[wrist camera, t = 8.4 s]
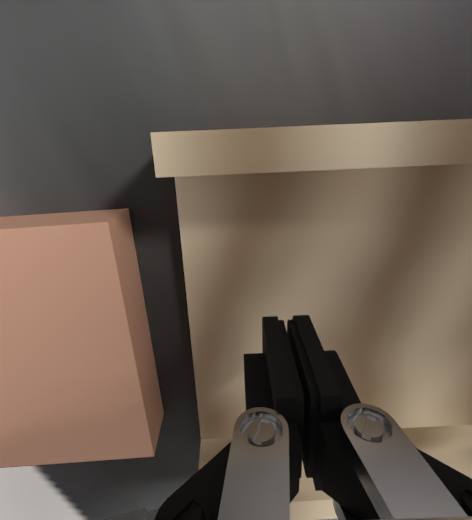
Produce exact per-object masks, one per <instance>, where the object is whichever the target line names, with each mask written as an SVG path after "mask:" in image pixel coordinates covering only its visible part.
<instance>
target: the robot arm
mask: <svg viewBox="0 0 472 520" xmlns="http://www.w3.org/2000/svg"><path fill="white" fill-rule="evenodd" d="M244 380H245V403H246V411H245V412H243V413H241V415H240V416H239V417H238V418H237V419H236V422H235V425H234V429H233V435H232V441H231V442H230V443H229V444H228V445H227V446H225V447H224V448H223V449H222V450H221V451H220V452H219V453H218V454H217V455H215V456H214V457H213V458H212V459H211V460H210V461H209V462H208V463H207V464H205V465H204V466H203V467H202V468H201V469H200V470H199V471H198V472H197V473H195V474H194V475H193V476H192V477H191V478H190V479H189V480H188V481H186V482H185V483H184V484H183V485H182V486H181V487H180V488H179V489H178V490H176V491H175V492H174V493H173V494H172V495H171V496H170V497H169V498H168V499H167V500H166V501H165V502H164V503H163V504H162V505H161V507H160V508H159V509H158V510H155V511H151V512H148V513H146V508H144V509H140V510H137V511H133V512H130V513H126V514H123V515H119V516H116V517H112V518H108V519H105V520H290V503H291V501H292V500H293V499H294V498H295V496H296V495H297V494H298V492H299V481H300V478H301V474H302V461H303V466H304V471H305V475H306V478H313V482H314V487H315V491H323V492H324V493H326V494H327V495H328V496H330V497H331V498H332V499H333V506H334V510H335V513H336V515H337V518H338V520H472V479H471V478H470V477H468V476H466V475H464V474H462V473H461V472H459V471H457V470H455V469H453V468H452V467H450V466H448V465H446V464H444V463H443V462H441V461H439V460H437V459H435V458H434V457H432V456H430V455H428V454H427V453H425V452H423V451H421V450H419V449H418V448H416V447H415V446H414V445H413V443H412V442H411V441H410V439H409V438H408V437H407V435H406V434H405V433H404V432H403V430H402V429H401V428H400V426H399V425H398V424H397V422H396V421H395V420H394V419H393V418H392V417H391V416H390V415H389V414H388V413H387V412H385V411H384V410H382V409H381V408H378V407H376V406H373V405H370V404H364V403H361V402H360V399H359V397H358V395H357V393H356V391H355V389H354V387H353V385H352V383H351V381H350V379H349V377H348V374H347V372H346V370H345V368H344V366H343V364H342V362H341V360H340V358H339V356H338V354H337V352H336V351H335V350H329V351H324V349H323V347H322V345H321V342H320V340H319V337H318V335H317V333H316V330H315V328H314V326H313V323H312V321H311V319H310V316H309V315H293V319H292V320H288V321H287V331H286V327H285V323H284V320H278V317H277V316H268V317H262V353H251V354H244Z"/></svg>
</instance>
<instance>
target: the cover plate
mask: <svg viewBox="0 0 472 520" xmlns="http://www.w3.org/2000/svg"><path fill="white" fill-rule="evenodd" d="M163 415H164V411H163V405H162V399H161V393H160V387H159V382H158V376H157V370H156V364H155V359H154V353H153V347H152V341H151V336H150V330H149V324H148V318H147V312H146V307H145V301H144V295H143V289H142V284H141V278H140V272H139V266H138V260H137V255H136V249H135V243H134V237H133V232H132V226H131V220H130V214H129V209H128V208H126V209H111V210H96V211H81V212H66V213H51V214H37V215H22V216H7V217H0V468H3V467H18V466H32V465H46V464H60V463H73V462H87V461H101V460H114V459H128V458H142V457H154V454H155V450H156V446H157V441H158V437H159V433H160V428H161V424H162V420H163Z"/></svg>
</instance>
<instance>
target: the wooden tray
mask: <svg viewBox="0 0 472 520" xmlns="http://www.w3.org/2000/svg"><path fill="white" fill-rule="evenodd" d="M150 133H151V142H152V150H153V158H154V167H155V175H156V178H160V177H175V187H176V197H177V207H178V216H179V226H180V236H181V246H182V256H183V266H184V276H185V286H186V296H187V306H188V316H189V326H190V336H191V346H192V355H193V365H194V375H195V385H196V395H197V405H198V415H199V425H200V435H201V445H200V456H199V468H198V471H199V470H200V469H201V468H202V467H203V466H204V465H205V464H207V463H208V462H209V461H210V460H211V459H212V458H213V457H214V456H215V455H217V454H218V453H219V452H220V451H221V450H222V449H223V448H224V447H225V446H227V445H228V444H229V443H230V442H231V441H232V435H233V429H234V425H235V422H236V419H237V418H238V417H239V416H240V415H241V413H243V412H245V411H246V403H245V380H244V354H251V353H262V317H268V316H277V317H278V320H284V323H285V327H286V331H287V321H288V320H292V319H293V315H309V316H310V319H311V321H312V323H313V326H314V328H315V330H316V333H317V335H318V337H319V340H320V342H321V345H322V347H323V349H324V351H329V350H335V351H336V352H337V354H338V356H339V358H340V360H341V362H342V364H343V366H344V368H345V370H346V372H347V374H348V377H349V379H350V381H351V383H352V385H353V387H354V389H355V391H356V393H357V395H358V397H359V399H360V402H361V403H364V404H370V405H373V406H376V407H378V408H381V409H382V410H384V411H385V412H387V413H388V414H389V415H390V416H391V417H392V418H393V419H394V420H395V421H396V422H397V424H398V425H399V426H400V428H401V429H402V430H403V432H404V433H405V434H406V435H407V437H408V438H409V439H410V441H411V442H412V443H413V445H414V446H415V447H416V448H418V449H419V450H421V451H423V452H425V453H427V454H428V455H430V456H432V457H434V458H435V459H437V460H439V461H441V462H443V463H444V464H446V465H448V466H450V467H452V468H453V469H455V470H457V471H459V472H461V473H462V474H464V475H466V476H468V477H470V478H471V479H472V119H454V120H431V121H407V122H384V123H361V124H337V125H314V126H290V127H267V128H244V129H220V130H197V131H174V132H150ZM334 518H337V515H336V513H335V510H334V506H333V499H332V498H331V497H330V496H328V495H327V494H326V493H324V492H323V491H315V487H314V482H313V478H306V475H305V471H304V466H303V461H302V474H301V478H300V481H299V492H298V494H297V495H296V496H295V498H294V499H293V500H292V501H291V503H290V520H317V519H334Z"/></svg>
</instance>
